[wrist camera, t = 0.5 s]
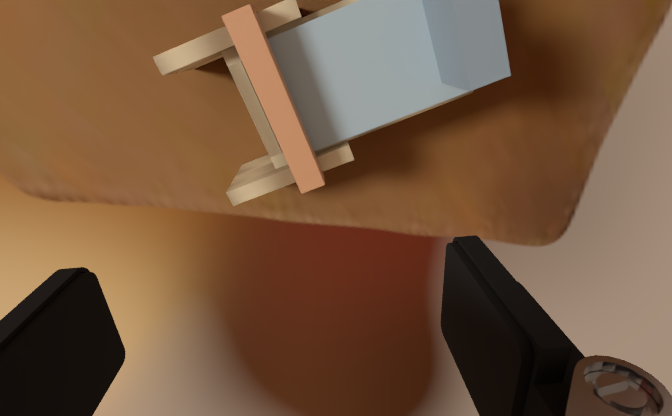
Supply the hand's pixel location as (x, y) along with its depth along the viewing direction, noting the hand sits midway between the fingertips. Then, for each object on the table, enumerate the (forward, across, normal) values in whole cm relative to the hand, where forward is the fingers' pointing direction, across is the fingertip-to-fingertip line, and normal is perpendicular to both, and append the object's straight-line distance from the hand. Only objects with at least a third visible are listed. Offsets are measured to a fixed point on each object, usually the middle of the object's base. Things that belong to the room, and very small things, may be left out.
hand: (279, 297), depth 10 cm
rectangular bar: (+18, +1, -2) cm, 18 cm away
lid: (+20, -5, -5) cm, 21 cm away
